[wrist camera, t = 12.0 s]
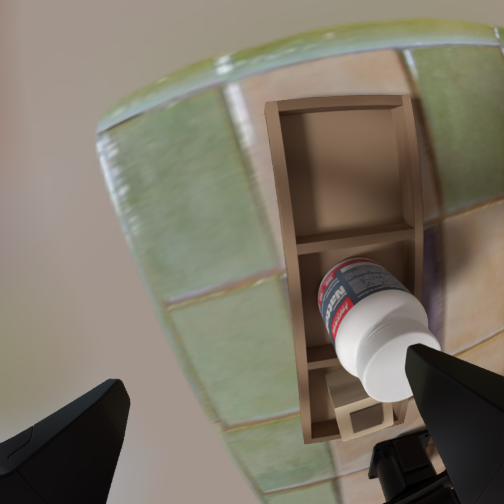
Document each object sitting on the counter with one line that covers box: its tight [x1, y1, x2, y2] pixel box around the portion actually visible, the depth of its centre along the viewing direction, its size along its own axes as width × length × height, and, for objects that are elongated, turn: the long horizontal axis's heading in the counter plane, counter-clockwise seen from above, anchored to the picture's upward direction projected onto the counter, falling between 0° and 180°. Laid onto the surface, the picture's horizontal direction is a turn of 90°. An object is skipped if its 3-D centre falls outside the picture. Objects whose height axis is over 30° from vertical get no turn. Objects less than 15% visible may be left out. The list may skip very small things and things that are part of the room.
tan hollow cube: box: [324, 368, 394, 442], centre depth 21 cm, size 4×4×4 cm
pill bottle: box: [318, 257, 441, 402], centre depth 16 cm, size 5×5×9 cm
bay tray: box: [265, 95, 423, 444], centre depth 20 cm, size 25×9×2 cm, turn 8°
